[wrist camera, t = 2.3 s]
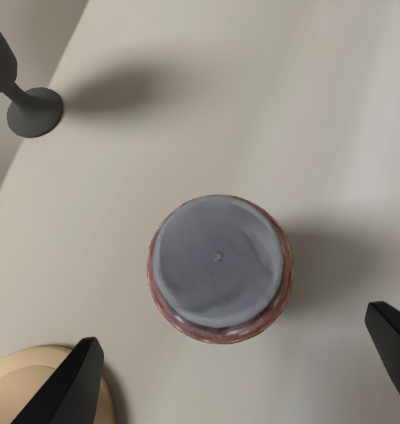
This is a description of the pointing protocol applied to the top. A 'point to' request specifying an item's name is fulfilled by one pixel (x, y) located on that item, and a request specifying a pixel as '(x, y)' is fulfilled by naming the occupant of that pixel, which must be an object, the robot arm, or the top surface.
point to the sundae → (26, 100)
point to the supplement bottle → (220, 269)
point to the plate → (39, 381)
